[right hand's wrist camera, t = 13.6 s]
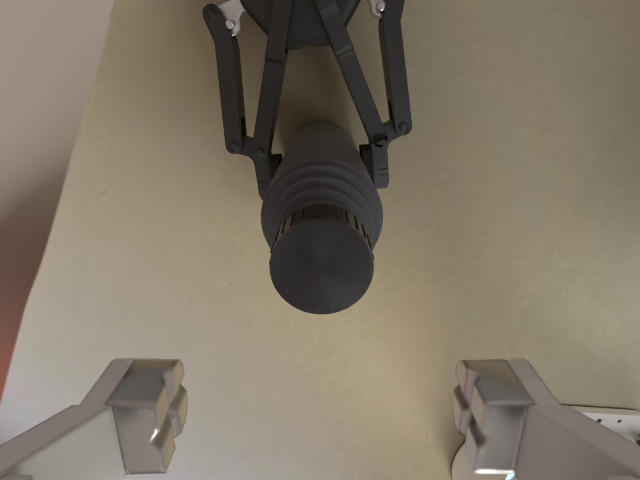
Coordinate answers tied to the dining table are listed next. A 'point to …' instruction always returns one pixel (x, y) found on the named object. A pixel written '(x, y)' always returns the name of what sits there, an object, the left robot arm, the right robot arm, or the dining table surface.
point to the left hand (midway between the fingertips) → (328, 232)
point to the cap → (321, 259)
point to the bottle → (322, 180)
